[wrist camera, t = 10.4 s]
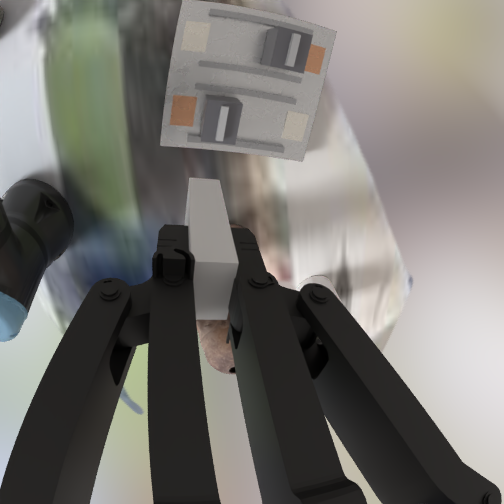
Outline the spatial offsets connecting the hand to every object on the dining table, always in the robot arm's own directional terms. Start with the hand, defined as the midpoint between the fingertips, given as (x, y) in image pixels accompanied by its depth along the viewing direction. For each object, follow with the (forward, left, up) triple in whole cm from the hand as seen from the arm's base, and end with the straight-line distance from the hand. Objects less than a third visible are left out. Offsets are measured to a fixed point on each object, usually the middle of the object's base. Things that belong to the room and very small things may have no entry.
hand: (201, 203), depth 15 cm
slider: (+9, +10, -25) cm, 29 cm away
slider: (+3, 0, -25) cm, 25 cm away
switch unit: (+6, +5, -28) cm, 29 cm away
